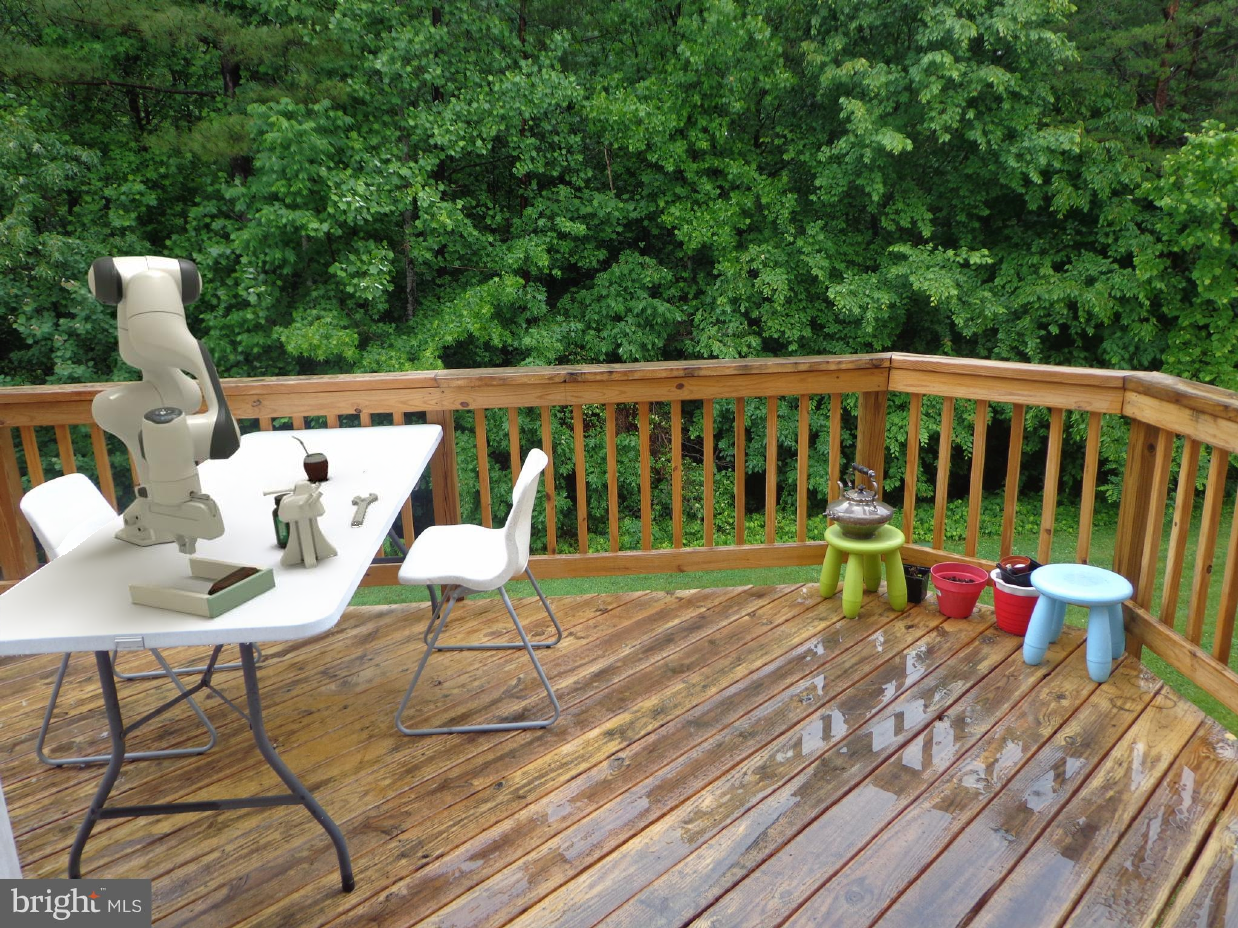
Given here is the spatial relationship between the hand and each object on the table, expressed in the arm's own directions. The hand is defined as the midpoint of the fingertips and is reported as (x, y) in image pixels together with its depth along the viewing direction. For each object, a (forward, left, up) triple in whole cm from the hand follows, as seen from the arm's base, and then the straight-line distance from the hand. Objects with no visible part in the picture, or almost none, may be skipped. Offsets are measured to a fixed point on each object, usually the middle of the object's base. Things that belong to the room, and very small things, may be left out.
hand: (188, 552), depth 178 cm
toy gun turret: (+9, +22, -9) cm, 26 cm away
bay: (+2, 0, -9) cm, 9 cm away
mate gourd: (-35, +73, -9) cm, 82 cm away
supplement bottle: (-2, +29, -9) cm, 31 cm away
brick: (+10, +2, -10) cm, 14 cm away
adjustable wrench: (-2, +53, -10) cm, 54 cm away
